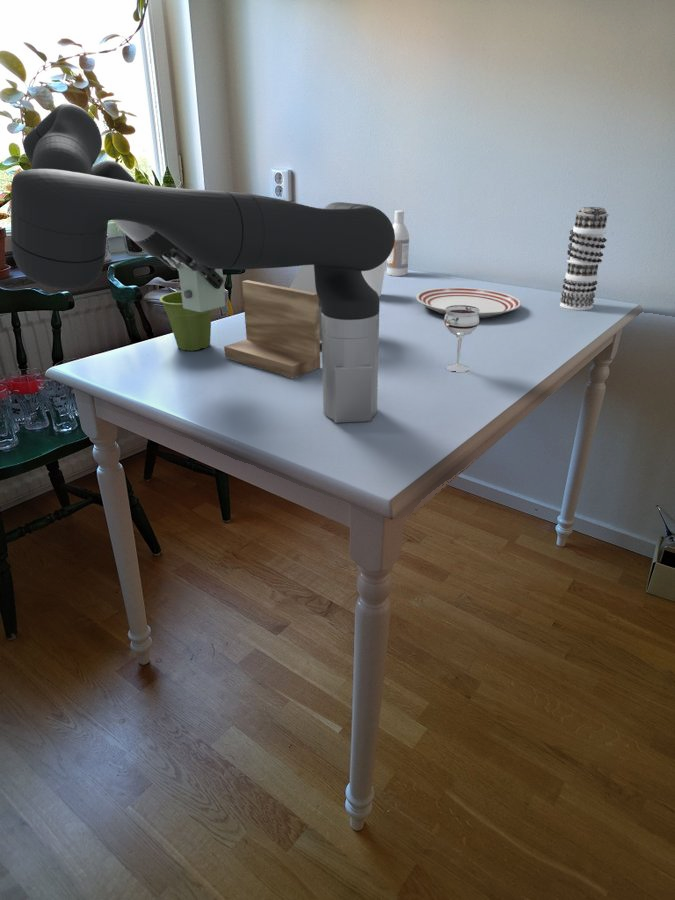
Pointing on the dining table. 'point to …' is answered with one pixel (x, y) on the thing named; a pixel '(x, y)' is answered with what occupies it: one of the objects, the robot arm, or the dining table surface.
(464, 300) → the dinner plate
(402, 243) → the bath foam
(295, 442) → the dining table surface
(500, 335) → the dining table surface
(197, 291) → the cabinet
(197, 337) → the plant pot
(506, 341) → the dining table surface
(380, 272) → the cup
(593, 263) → the grey white tall cylinder
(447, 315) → the wineglass
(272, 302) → the wooden stand
